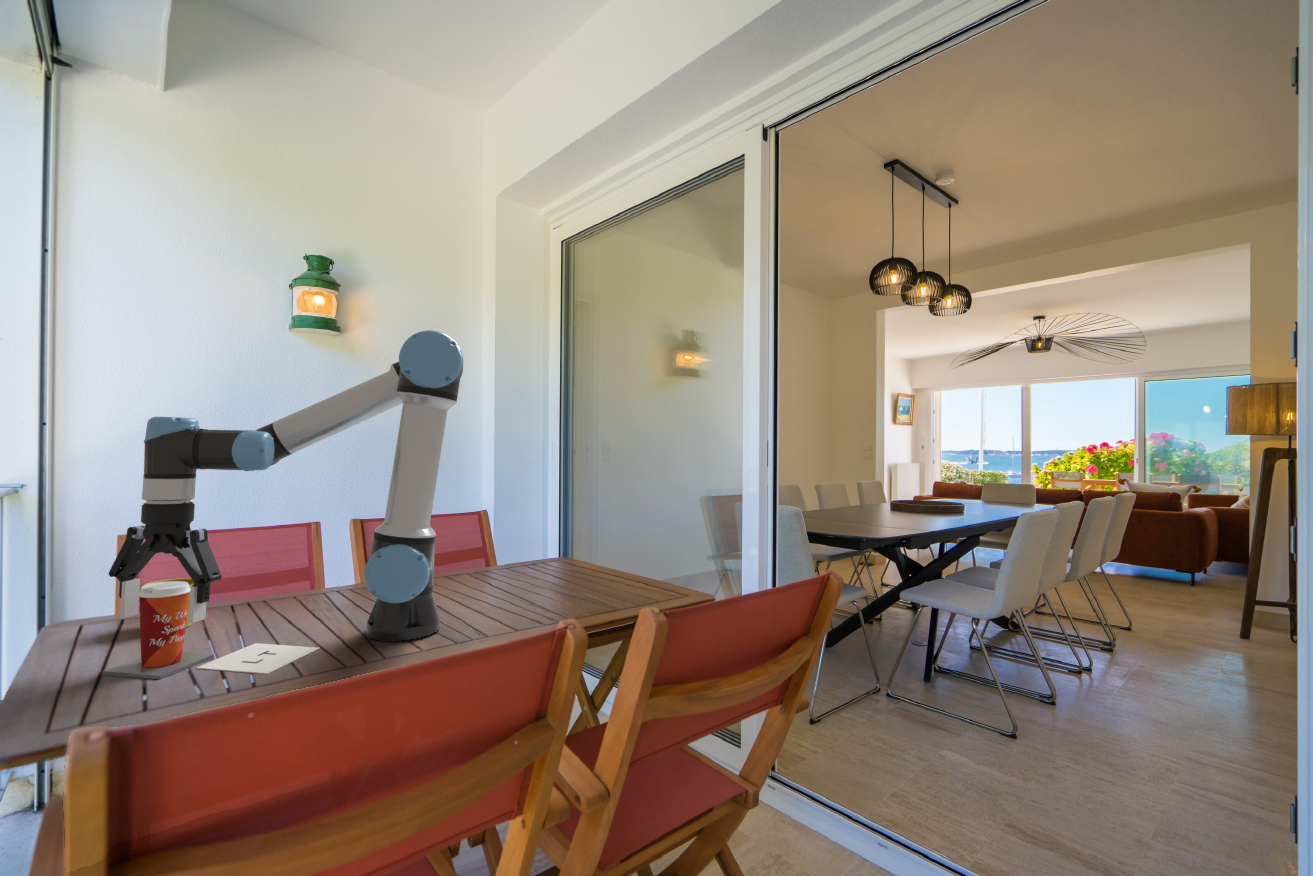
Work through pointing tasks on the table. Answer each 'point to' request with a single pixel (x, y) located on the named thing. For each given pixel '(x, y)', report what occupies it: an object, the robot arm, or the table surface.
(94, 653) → the table surface
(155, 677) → the slate coaster
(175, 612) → the paper cup
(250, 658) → the tile
